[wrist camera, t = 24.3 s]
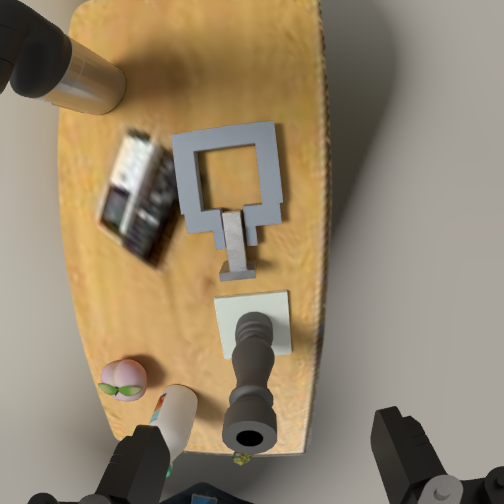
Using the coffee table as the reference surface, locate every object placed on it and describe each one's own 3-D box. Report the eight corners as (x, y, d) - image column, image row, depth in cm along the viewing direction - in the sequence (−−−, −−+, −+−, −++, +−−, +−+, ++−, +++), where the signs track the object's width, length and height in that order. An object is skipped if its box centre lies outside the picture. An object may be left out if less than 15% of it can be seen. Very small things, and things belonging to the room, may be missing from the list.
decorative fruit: (123, 383, 57) (106, 413, 48) (107, 351, 55) (86, 379, 46) (161, 380, 56) (147, 412, 47) (146, 346, 55) (127, 377, 45)
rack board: (225, 356, 54) (224, 359, 53) (214, 296, 51) (213, 298, 50) (291, 350, 54) (291, 353, 53) (286, 289, 51) (287, 291, 50)
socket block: (191, 248, 49) (187, 253, 47) (176, 137, 45) (171, 135, 42) (285, 238, 49) (286, 243, 46) (272, 123, 44) (273, 120, 41)
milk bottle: (179, 377, 56) (152, 452, 37) (206, 401, 57) (189, 477, 38) (155, 392, 57) (124, 463, 38) (181, 415, 59) (159, 486, 39)
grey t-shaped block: (224, 268, 50) (220, 281, 44) (217, 211, 47) (211, 217, 42) (256, 265, 49) (255, 278, 44) (249, 207, 47) (247, 212, 41)
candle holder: (250, 349, 53) (243, 461, 28) (228, 323, 52) (206, 432, 27) (279, 331, 52) (291, 442, 27) (258, 304, 50) (256, 410, 26)
